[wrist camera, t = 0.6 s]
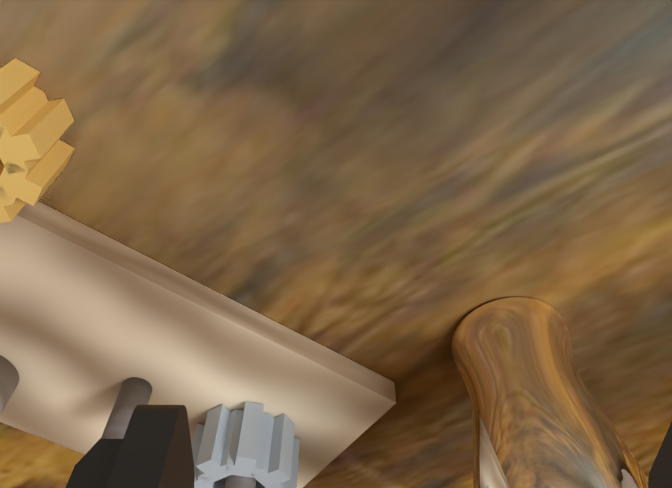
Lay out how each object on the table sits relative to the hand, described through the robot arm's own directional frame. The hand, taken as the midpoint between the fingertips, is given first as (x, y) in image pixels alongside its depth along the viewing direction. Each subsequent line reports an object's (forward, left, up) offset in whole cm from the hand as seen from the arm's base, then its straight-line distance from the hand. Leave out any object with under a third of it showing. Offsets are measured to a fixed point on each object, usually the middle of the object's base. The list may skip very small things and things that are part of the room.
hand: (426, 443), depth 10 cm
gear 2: (+20, +6, -16) cm, 27 cm away
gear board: (+20, 0, -18) cm, 27 cm away
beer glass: (+7, +14, -18) cm, 24 cm away
